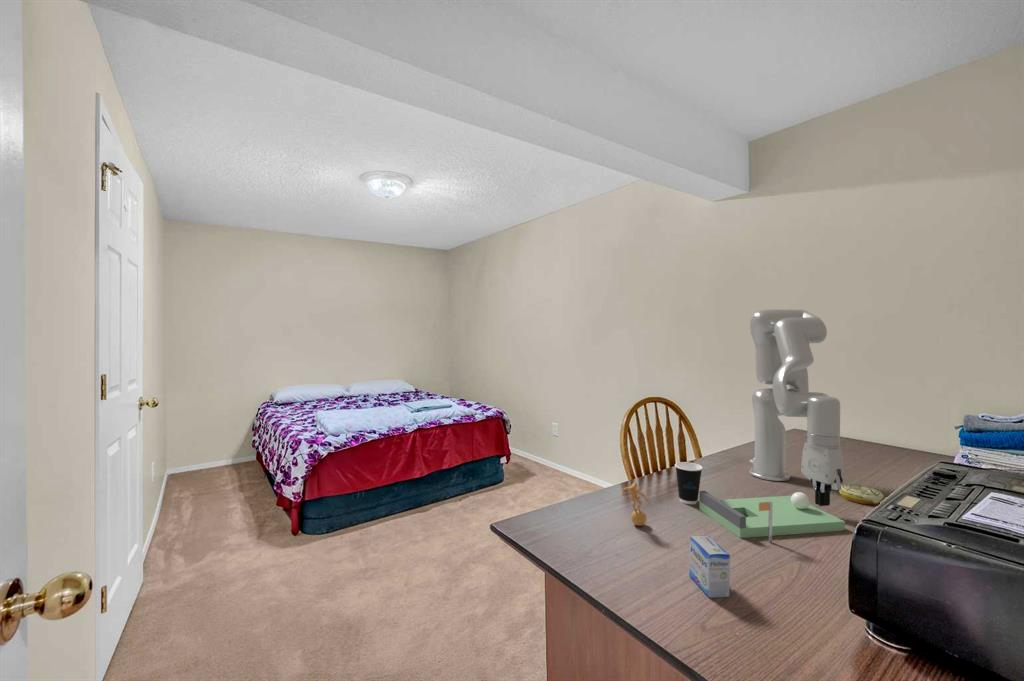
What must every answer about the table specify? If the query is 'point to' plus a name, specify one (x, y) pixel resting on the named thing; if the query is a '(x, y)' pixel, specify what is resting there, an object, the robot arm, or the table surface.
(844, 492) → the decorated donut
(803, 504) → the ball
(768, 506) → the flag pin
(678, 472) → the dixie cup
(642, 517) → the figurine
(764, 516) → the mat
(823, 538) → the table surface
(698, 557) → the medicine box
